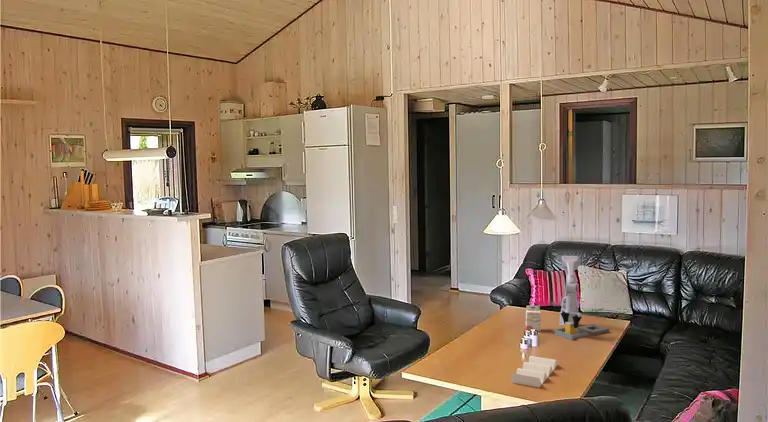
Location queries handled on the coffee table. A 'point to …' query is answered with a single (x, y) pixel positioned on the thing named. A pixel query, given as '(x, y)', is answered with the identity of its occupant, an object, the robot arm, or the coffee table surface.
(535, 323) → the ink cartridge box
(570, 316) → the robot arm
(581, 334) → the parts tray
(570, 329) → the block
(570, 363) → the coffee table surface
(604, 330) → the block
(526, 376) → the file organizer
